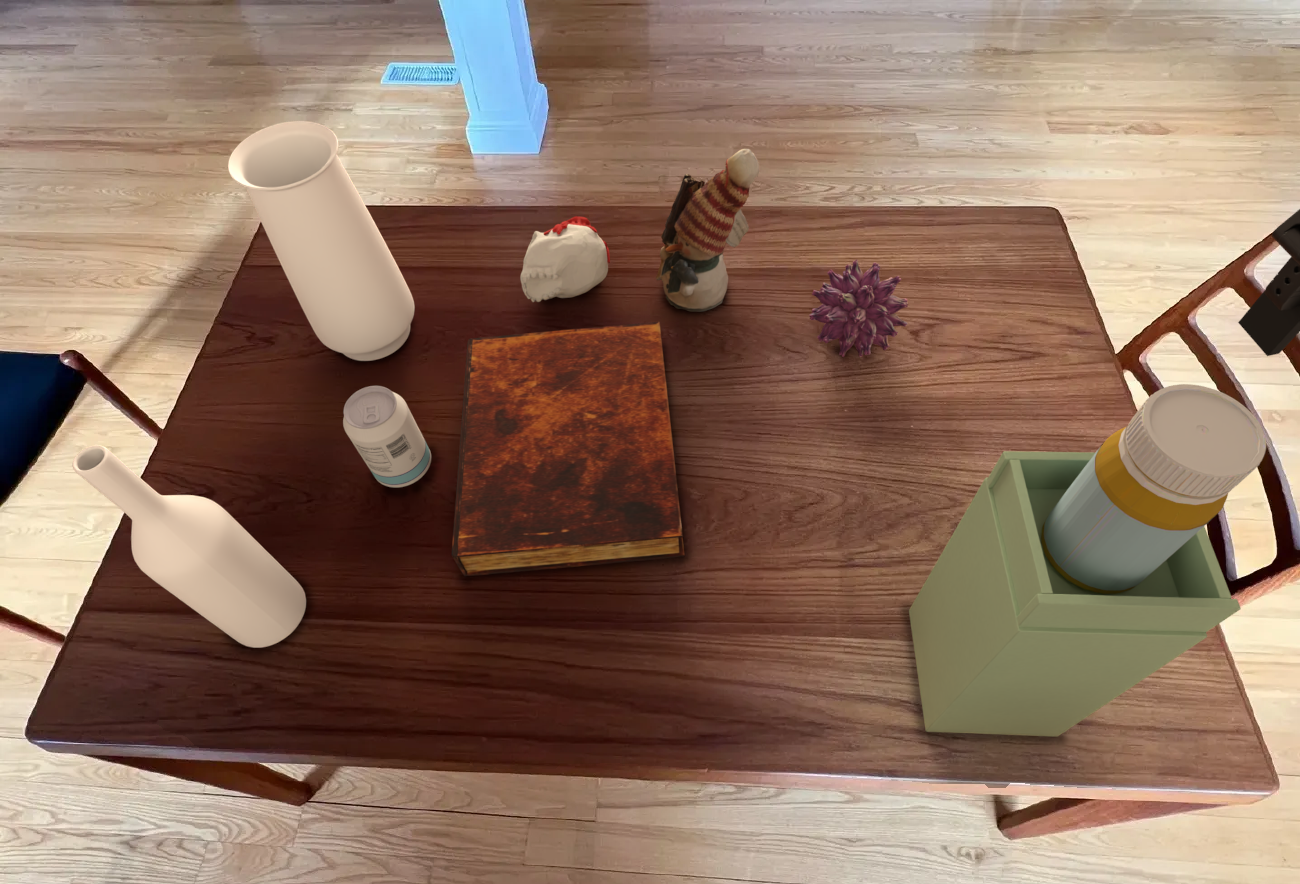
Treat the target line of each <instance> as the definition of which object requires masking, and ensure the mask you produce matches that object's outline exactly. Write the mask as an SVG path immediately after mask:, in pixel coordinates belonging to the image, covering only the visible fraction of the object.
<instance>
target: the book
mask: <svg viewBox="0 0 1300 884" xmlns="http://www.w3.org/2000/svg"><path fill="white" fill-rule="evenodd" d="M661 332H662V331H661V324H660V321H650V322H639V323H627V324H618V325H607V326H594V327H585V328H584V327H583V328H573V329H561V330H550V331H539V332H529V333H517V334H506V335H494V336H483V337H473V338H468V339H467V344H466V357H465V358H466V359H465V370H464V385H463V396H462V397H463V398H462V411H461V425H460V437H459V450H458V451H459V452H458V463H457V478H456V492H455V502H454V518H453V529H452V530H453V532H452V545H451V557H452V558H453V560H454V561H455V563H456V565H457V567H458V569H459V570H460V573H462V575H463V576H464V577H472V576H484V575H485V576H486V575H495V574H508V573H509V574H510V573H519V572H529V571H531V572H532V571H540V570H553V569H562V568H563V569H564V568H574V567H584V566H585V567H586V566H597V565H608V564H619V563H629V562H631V563H632V562H641V561H653V560H664V559H675V558H676V559H677V558H685V555H686V554H685V545H684V538H683V535H684V534H683V527H682V518H681V517H682V516H681V508H680V499H679V490H678V480H677V472H676V463H675V462H676V461H675V453H674V445H673V434H672V426H671V425H672V424H671V415H670V406H669V397H668V387H667V377H666V371H665V370H666V369H665V361H664V352H663V341H662V333H661Z"/></svg>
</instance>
